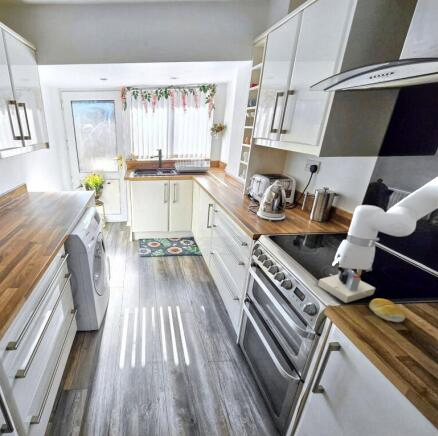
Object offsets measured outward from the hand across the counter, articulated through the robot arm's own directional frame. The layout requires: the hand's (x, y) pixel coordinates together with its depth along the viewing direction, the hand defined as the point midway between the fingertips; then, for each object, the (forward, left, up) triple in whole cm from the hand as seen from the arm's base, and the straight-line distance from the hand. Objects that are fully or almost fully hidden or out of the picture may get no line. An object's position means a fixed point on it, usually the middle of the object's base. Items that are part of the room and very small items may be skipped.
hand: (346, 282), depth 92 cm
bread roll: (0, +14, -4) cm, 14 cm away
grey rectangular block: (0, 0, -1) cm, 1 cm away
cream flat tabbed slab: (0, 0, -4) cm, 4 cm away
